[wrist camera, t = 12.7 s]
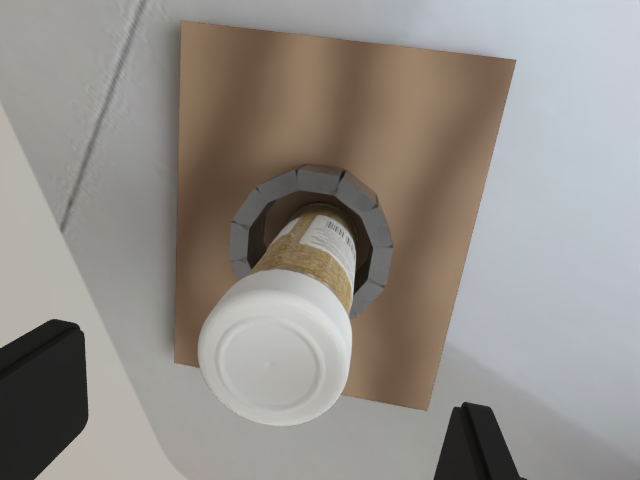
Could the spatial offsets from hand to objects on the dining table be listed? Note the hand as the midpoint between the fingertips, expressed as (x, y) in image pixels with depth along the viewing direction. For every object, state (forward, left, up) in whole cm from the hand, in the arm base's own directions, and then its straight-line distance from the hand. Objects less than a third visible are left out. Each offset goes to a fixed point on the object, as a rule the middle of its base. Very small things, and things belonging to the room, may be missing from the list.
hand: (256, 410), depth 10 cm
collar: (0, 0, -15) cm, 15 cm away
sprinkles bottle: (0, 0, -15) cm, 15 cm away
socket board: (0, 0, -17) cm, 17 cm away
